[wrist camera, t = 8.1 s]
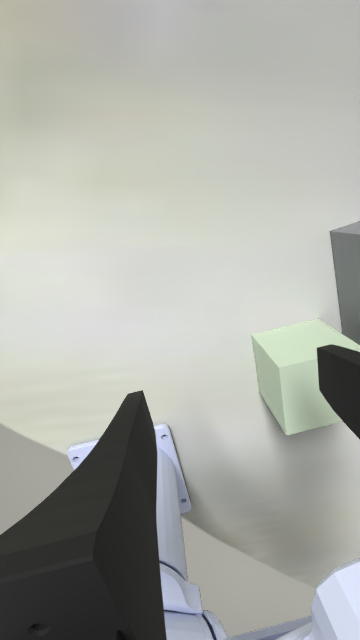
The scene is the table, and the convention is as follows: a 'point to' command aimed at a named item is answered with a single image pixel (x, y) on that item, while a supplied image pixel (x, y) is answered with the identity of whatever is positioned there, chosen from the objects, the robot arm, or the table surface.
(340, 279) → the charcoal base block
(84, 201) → the table surface
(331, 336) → the sage cube
